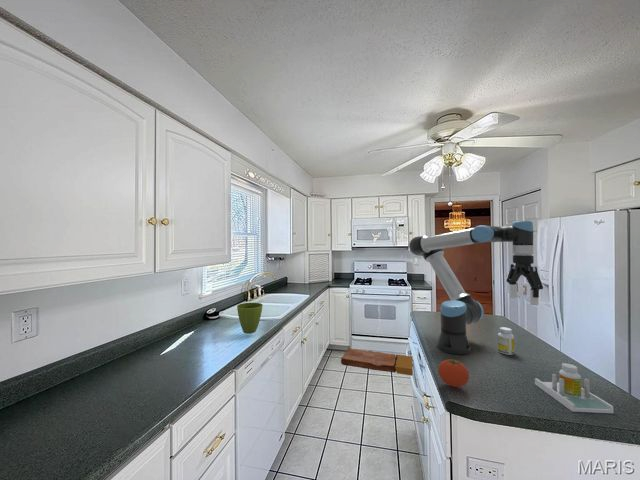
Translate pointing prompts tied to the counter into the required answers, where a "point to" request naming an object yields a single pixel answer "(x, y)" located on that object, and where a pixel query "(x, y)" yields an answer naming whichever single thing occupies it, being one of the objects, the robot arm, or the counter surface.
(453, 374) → the tomato
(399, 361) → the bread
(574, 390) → the supplement bottle
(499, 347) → the pill bottle
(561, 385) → the tray
